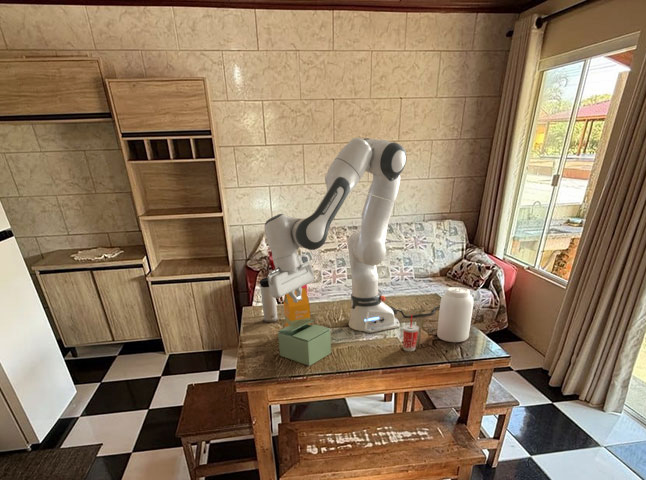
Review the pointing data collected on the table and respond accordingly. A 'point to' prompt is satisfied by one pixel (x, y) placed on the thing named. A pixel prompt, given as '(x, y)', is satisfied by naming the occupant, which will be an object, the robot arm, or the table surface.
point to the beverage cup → (410, 336)
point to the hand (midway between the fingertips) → (298, 301)
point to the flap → (295, 326)
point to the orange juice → (296, 308)
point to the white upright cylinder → (455, 315)
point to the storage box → (305, 344)
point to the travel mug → (268, 302)
